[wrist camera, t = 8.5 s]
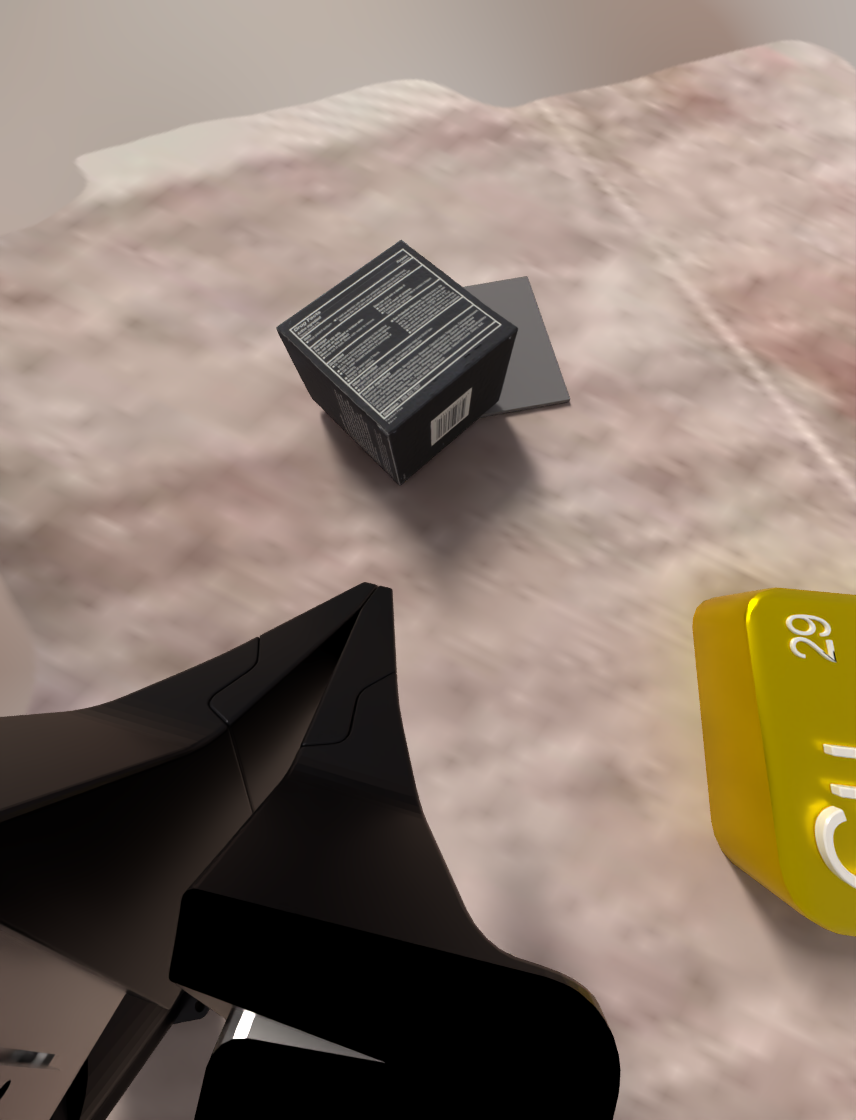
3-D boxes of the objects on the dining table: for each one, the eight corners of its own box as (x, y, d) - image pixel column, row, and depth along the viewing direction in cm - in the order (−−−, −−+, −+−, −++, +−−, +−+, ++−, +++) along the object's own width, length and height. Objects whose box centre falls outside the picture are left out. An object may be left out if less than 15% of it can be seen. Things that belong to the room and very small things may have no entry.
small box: (500, 404, 25) (411, 326, 27) (524, 325, 19) (404, 230, 20) (398, 490, 23) (311, 400, 25) (386, 435, 17) (270, 321, 19)
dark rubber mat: (568, 401, 25) (570, 398, 25) (365, 437, 25) (364, 434, 24) (526, 279, 28) (527, 276, 28) (347, 310, 28) (346, 306, 28)
